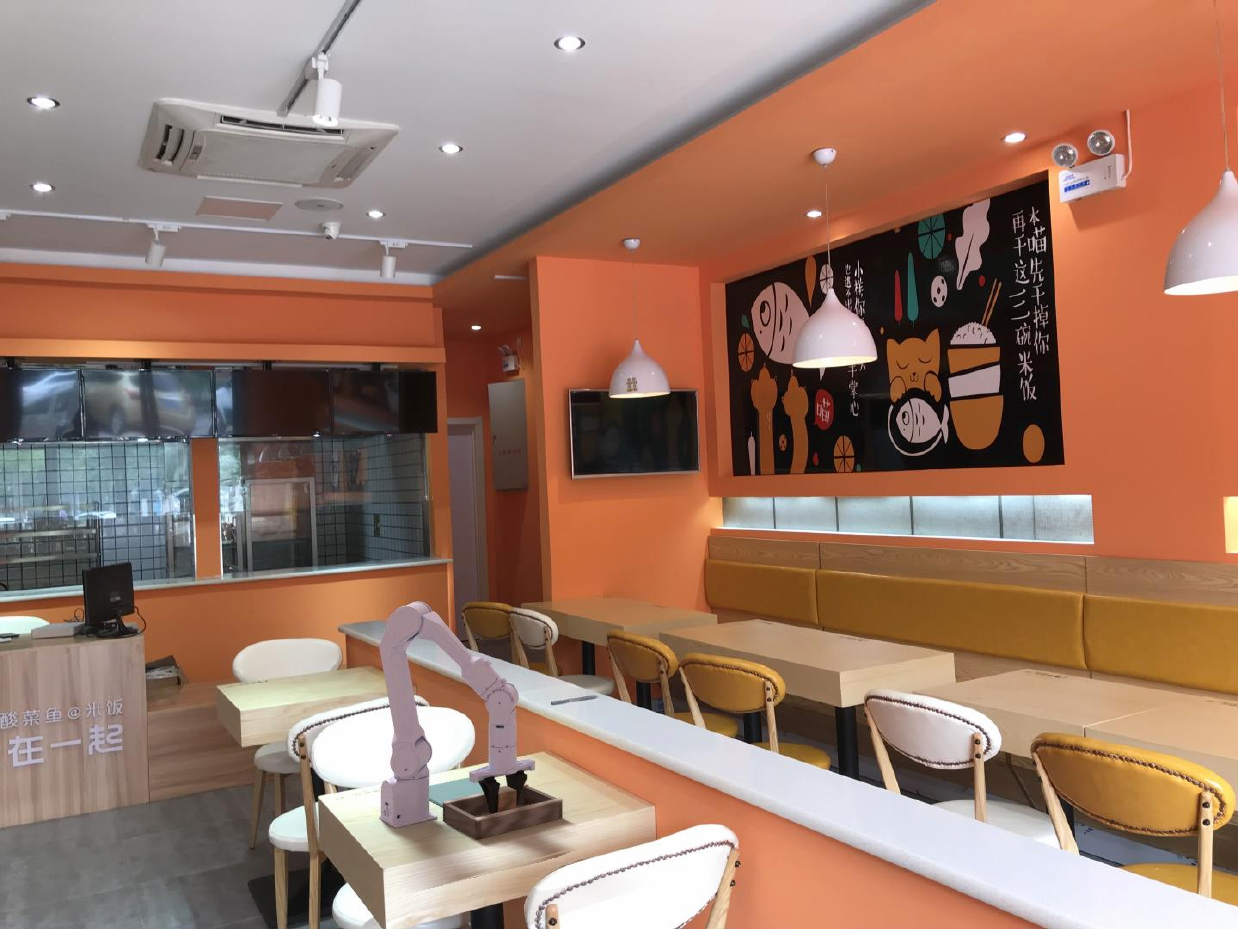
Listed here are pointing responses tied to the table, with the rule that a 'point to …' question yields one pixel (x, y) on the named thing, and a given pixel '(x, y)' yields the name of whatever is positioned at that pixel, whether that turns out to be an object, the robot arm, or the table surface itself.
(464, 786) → the mat
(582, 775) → the table surface
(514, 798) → the walnut block
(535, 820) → the frame
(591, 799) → the table surface
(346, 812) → the table surface
